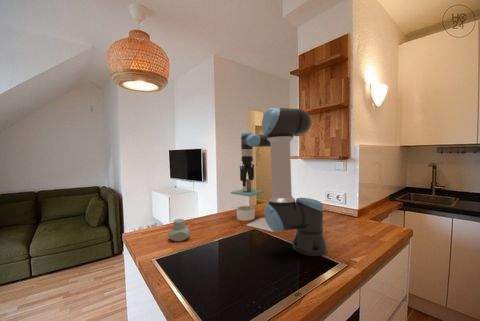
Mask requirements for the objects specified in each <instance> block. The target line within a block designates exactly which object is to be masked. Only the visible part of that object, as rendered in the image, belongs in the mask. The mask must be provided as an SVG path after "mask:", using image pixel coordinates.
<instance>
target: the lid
mask: <svg viewBox="0 0 480 321" xmlns="http://www.w3.org/2000/svg"><path fill="white" fill-rule="evenodd" d="M246 181H247V191H243V188H242V189H238V190H234V191H230V194H231V195H237V196H242V197H254V196H257V195H260V194H263V193H265V191H264V190H261V189H260V190H259V189H254V188H252V190H251V179H249V178H246Z"/></svg>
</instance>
